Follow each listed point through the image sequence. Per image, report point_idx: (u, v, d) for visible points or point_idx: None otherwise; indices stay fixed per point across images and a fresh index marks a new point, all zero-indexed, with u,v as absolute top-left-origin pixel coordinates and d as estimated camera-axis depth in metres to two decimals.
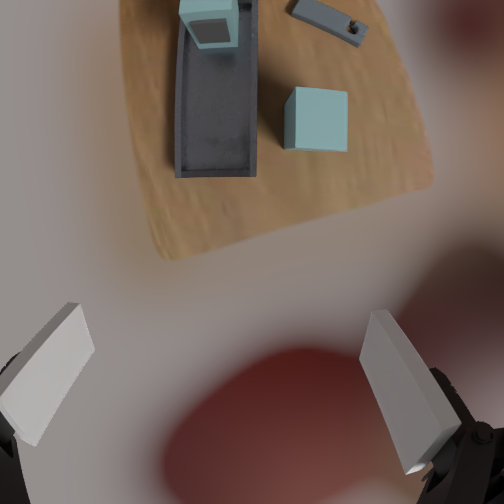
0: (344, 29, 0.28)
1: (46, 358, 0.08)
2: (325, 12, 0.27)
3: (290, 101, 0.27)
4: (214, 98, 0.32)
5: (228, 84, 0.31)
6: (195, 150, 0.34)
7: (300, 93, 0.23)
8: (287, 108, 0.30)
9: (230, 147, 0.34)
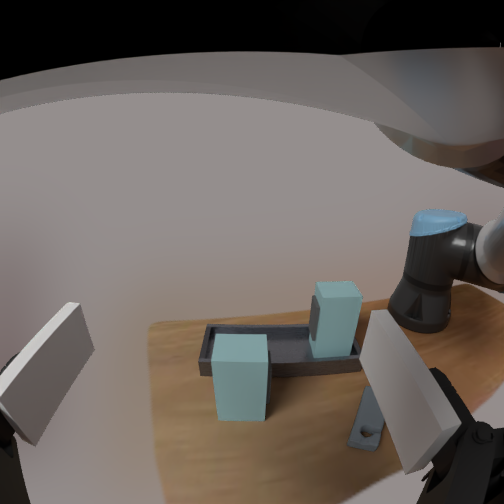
0: (362, 423, 0.29)
1: (46, 358, 0.08)
2: (376, 407, 0.31)
3: None
4: None
5: (278, 354, 0.43)
6: None
7: (260, 336, 0.33)
8: None
9: None
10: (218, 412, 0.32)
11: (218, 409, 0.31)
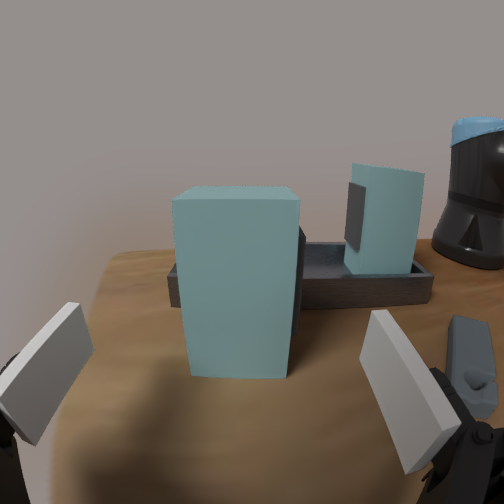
0: (465, 366, 0.14)
1: (46, 358, 0.08)
2: (478, 343, 0.15)
3: None
4: None
5: None
6: None
7: (278, 187, 0.17)
8: None
9: None
10: (190, 355, 0.16)
11: (190, 348, 0.16)
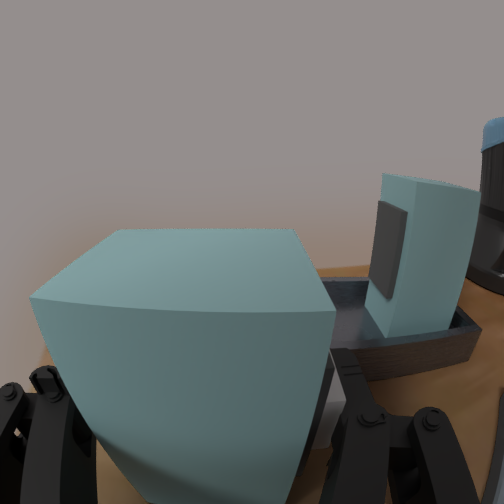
0: None
1: None
2: None
3: None
4: None
5: None
6: None
7: (274, 232, 0.09)
8: None
9: None
10: (139, 490, 0.08)
11: (136, 485, 0.07)
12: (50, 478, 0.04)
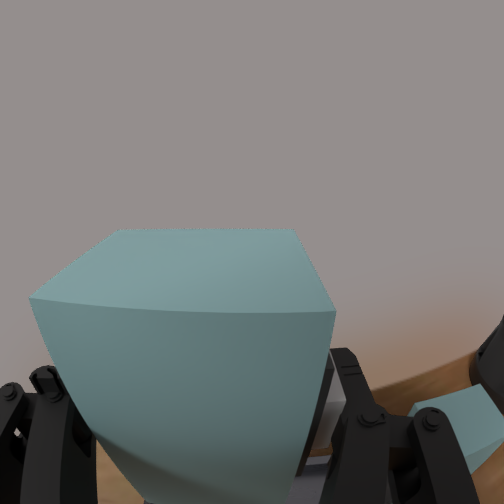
0: None
1: None
2: None
3: None
4: None
5: None
6: None
7: (274, 233, 0.09)
8: None
9: None
10: (139, 490, 0.08)
11: (136, 486, 0.07)
12: (50, 478, 0.04)
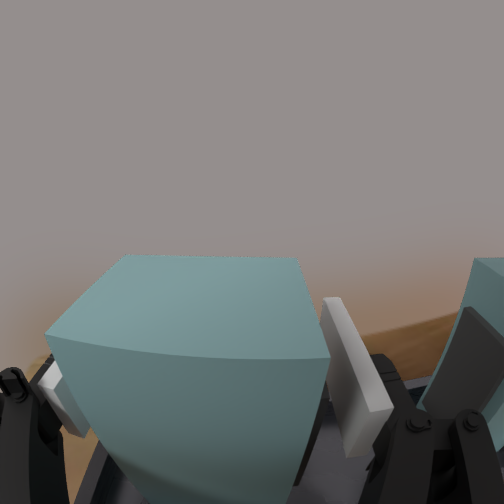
0: None
1: None
2: None
3: None
4: None
5: (334, 493, 0.10)
6: None
7: (277, 262, 0.09)
8: None
9: None
10: (145, 496, 0.08)
11: (143, 492, 0.08)
12: (20, 473, 0.03)
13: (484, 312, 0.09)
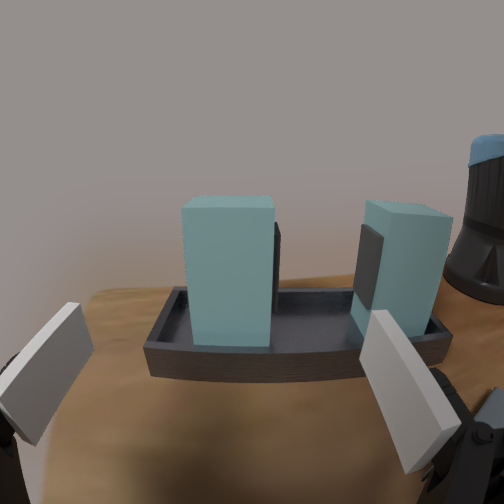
0: None
1: (46, 357, 0.08)
2: (498, 426, 0.10)
3: None
4: (277, 327, 0.24)
5: (301, 338, 0.23)
6: None
7: (262, 196, 0.22)
8: None
9: None
10: (193, 327, 0.21)
11: (193, 322, 0.21)
12: None
13: (371, 224, 0.22)
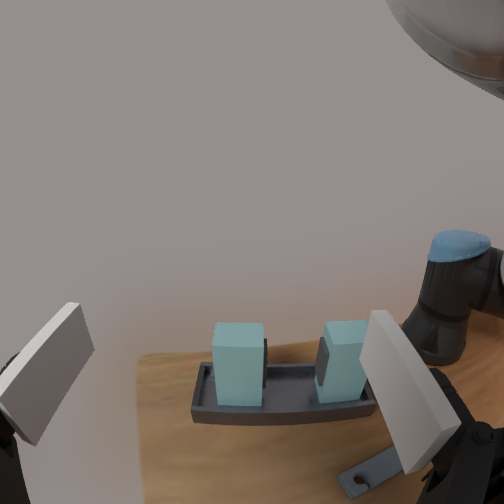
0: (363, 468, 0.24)
1: (46, 357, 0.08)
2: (390, 463, 0.24)
3: None
4: (266, 391, 0.38)
5: (280, 399, 0.36)
6: None
7: (257, 324, 0.36)
8: None
9: None
10: (218, 396, 0.35)
11: (218, 394, 0.34)
12: None
13: (325, 339, 0.35)
